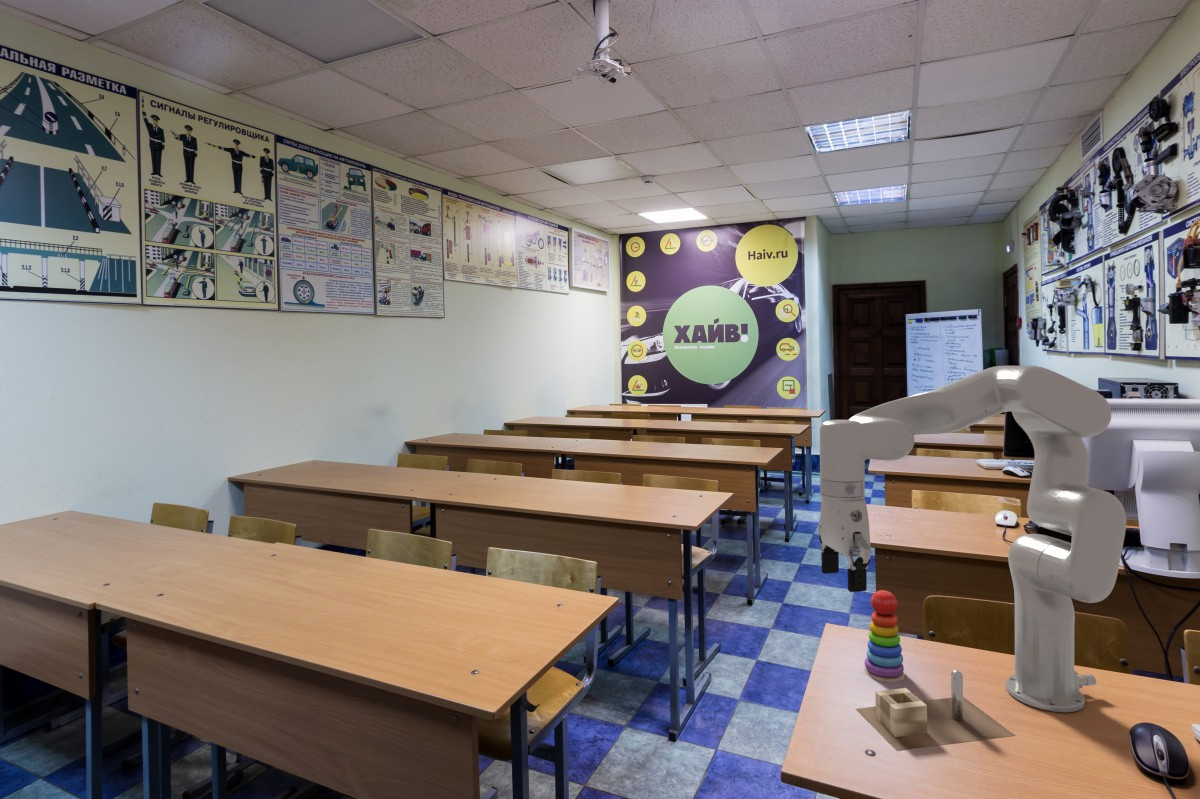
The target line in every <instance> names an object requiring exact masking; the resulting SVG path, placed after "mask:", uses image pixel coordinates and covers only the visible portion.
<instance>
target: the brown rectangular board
mask: <svg viewBox="0 0 1200 799" xmlns="http://www.w3.org/2000/svg"><path fill="white" fill-rule="evenodd" d="M921 701H922V702H923V703H925V704H926V705H927V733H924V734H915V735H907V736H899V737H895V736H894V735H893V734H892V733H891V732H890V731H889V730H888V729H887V728H886V727H885V726H884V725H883V724H882V723H881V722H880V721H879V720H878V719H876V705H875V706H869V707H867V706H866V707H860V708H859V707H858V708H855V710H856V712H858V714H860V715H861V716H862V717H863V718H864V720H865V721H867V722H868V723H869V724H870V725H871V726H872V728H874V730H875V731H877V733H878V734H879V735H880V736H882V738H883V739H884V740H885V741H886V742H887V743H888V744H889V745H890V746H891V747H892V748H893V749H894V750H895V751H896V752H898V751H906V750H907V751H908V750H915V749H921V748H922V749H923V748H930V747H937V746H945V745H954V744H961V743H968V742H977V741H985V740H992V739H1000V738H1008V737H1015V736H1016V735H1015V733H1013V732H1012V731H1010V730H1009V729H1007V728H1006V727H1005V726H1003V724H1001V723H999V722H998V721H997V720H996V719H994V718H992V716H990V715H989V714H987V713H986V712H985V711H983V710H982V709H980V708H979V707H977V706H976V705H975V704H974V703H973V702H971V701H970V700H968V699H967V698H966V697H964V696H963V721H956V720H954V719H952V703H951V697H944V698H937V699H929V700H928V699H927V700H921Z"/></svg>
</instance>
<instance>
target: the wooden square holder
mask: <svg viewBox="0 0 1200 799" xmlns="http://www.w3.org/2000/svg"><path fill="white" fill-rule="evenodd" d="M874 695H875V706H876V719H878V720H879V721H880V722H881V723H882V724H883V725H884V726H885V727H886V728H887V729H888V730H889V731H890V732H891V733H892V734H893V735H894V736H895V737H899V736H907V735H915V734H924V733H927V705H926V704H925V703H923V702H922V701H923V700H921V699H920V698H919V697H918V696H916V695H915V694H914V693H912V692H911V691H910V690H909V688H907V687H903V688H894V689H885V690H877V691H875V694H874Z"/></svg>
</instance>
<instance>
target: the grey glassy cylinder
mask: <svg viewBox="0 0 1200 799" xmlns="http://www.w3.org/2000/svg"><path fill="white" fill-rule="evenodd" d="M950 675H951V676H950V678H951V679H950V680H951V681H950V683H951V684H950V685H951V686H950V689H951V690H950V691H951V695H950V696H951V697H950V698H951V703H952V719H954V720H956V721H963V697H964V692H963V691H964V690H963V689H964V686H963V685H964V680H963V679H964V678H963V673H962V672H961V671H960V670H957V669H956V670H955V669H954V670H953V671H951V673H950Z"/></svg>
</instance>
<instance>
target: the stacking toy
mask: <svg viewBox="0 0 1200 799" xmlns="http://www.w3.org/2000/svg"><path fill="white" fill-rule="evenodd" d="M898 603H899V602H898V599H897V597H896V596H895V595H894V594H893V593H892V592H891V591H888V590H884V589H882V590H881V589H880V590H877V591H875V592H874V593H873V594H872V596H871V599H870V604H871V607H872V609H873V611H874V612H872V614H871V615H870V616H871V618H870V619H871V622H870V623H869V630H870V631H869V633H868V639H869V640H868V642H867V651H866V658H865V660H864V670H863V671H864V672H865V674H866V675H867V676H868V677H870V678H872V679H874V680H877V681H881V682H886V683H887V682H888V683H896V682H900V681H903V680H904V679H905V678H906V674H905V672H904V670H905V669H904V668H905V667H904V664H903V662H904V657H903V654H902V651H903V648H902V646H901V644H900V642H901V637H900V635H899V634H898V633H899V627H898V625H897V624H898V620H899V619H898V617H897V616H896V614H895V612H896V611H897V609H898Z"/></svg>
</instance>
